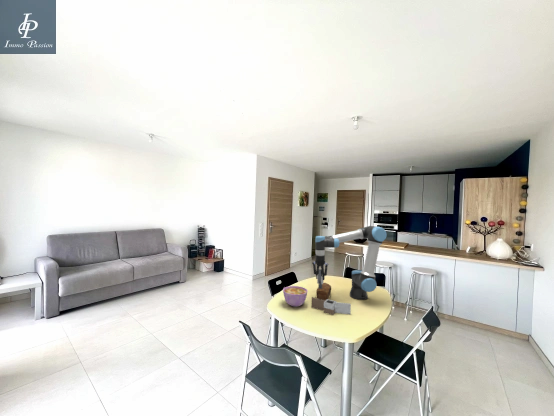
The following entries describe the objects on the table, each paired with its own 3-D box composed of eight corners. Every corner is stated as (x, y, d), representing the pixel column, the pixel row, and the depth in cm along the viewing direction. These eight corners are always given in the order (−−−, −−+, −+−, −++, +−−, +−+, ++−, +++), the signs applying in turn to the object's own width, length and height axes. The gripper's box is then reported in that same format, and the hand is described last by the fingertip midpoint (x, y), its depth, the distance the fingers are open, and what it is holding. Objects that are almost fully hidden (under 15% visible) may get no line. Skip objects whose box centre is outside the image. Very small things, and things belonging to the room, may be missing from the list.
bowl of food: (290, 297, 187) (291, 284, 188) (311, 303, 176) (311, 289, 176) (277, 305, 171) (278, 290, 171) (299, 312, 160) (299, 296, 160)
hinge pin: (319, 287, 178) (319, 269, 179) (322, 287, 177) (322, 269, 177) (317, 288, 176) (317, 270, 176) (321, 289, 174) (321, 270, 175)
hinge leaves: (314, 304, 174) (314, 295, 174) (351, 313, 159) (351, 303, 159) (309, 308, 166) (310, 299, 166) (347, 319, 151) (348, 308, 151)
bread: (320, 292, 202) (320, 281, 203) (331, 294, 198) (332, 283, 198) (315, 299, 185) (315, 287, 185) (328, 301, 181) (328, 289, 181)
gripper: (309, 254, 178) (309, 283, 178) (328, 256, 170) (328, 286, 169) (312, 253, 184) (312, 280, 184) (331, 255, 176) (331, 283, 176)
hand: (320, 283), depth 177 cm, fingers closed on hinge pin, 3 cm apart
